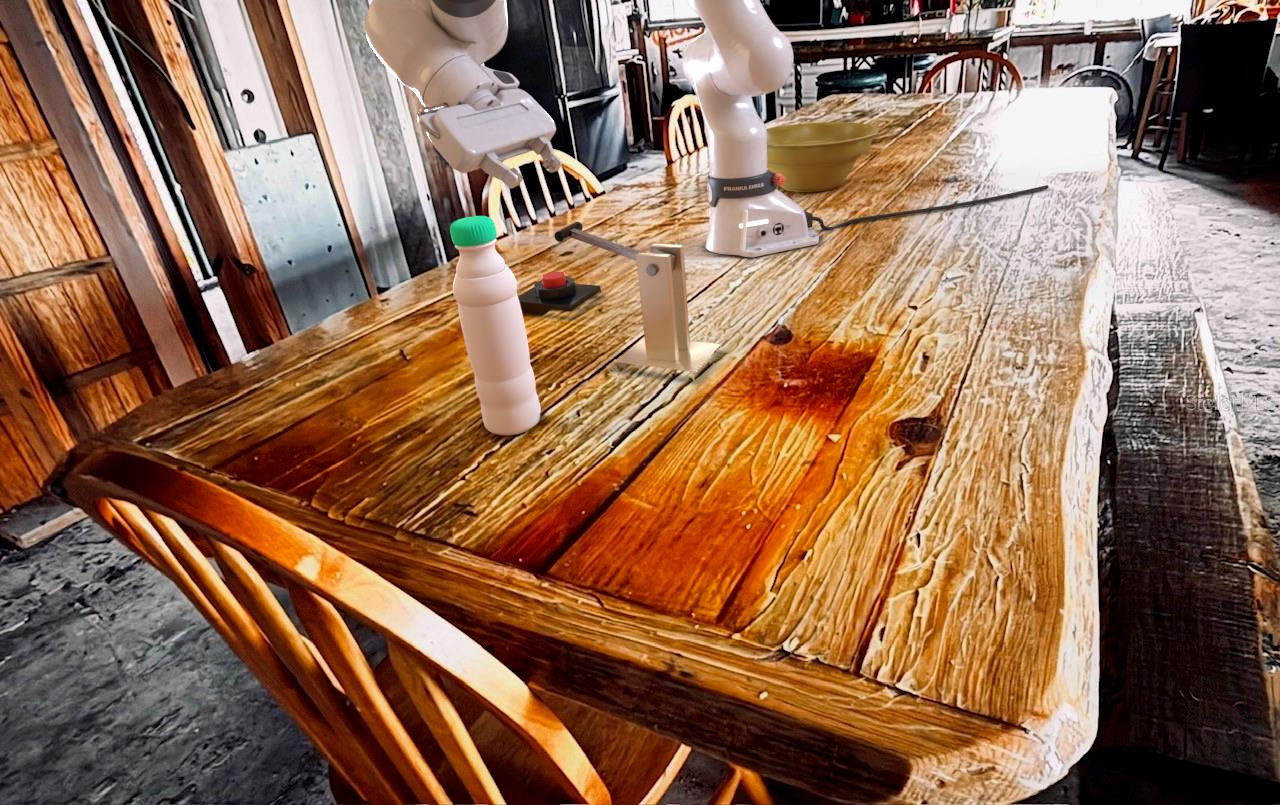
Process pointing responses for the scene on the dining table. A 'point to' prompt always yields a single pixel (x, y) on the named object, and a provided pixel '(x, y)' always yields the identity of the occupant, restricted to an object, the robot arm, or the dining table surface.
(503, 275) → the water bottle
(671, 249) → the bracket
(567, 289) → the control block
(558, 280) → the button
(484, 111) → the robot arm
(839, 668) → the dining table surface
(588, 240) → the lever
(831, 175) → the planter bowl
